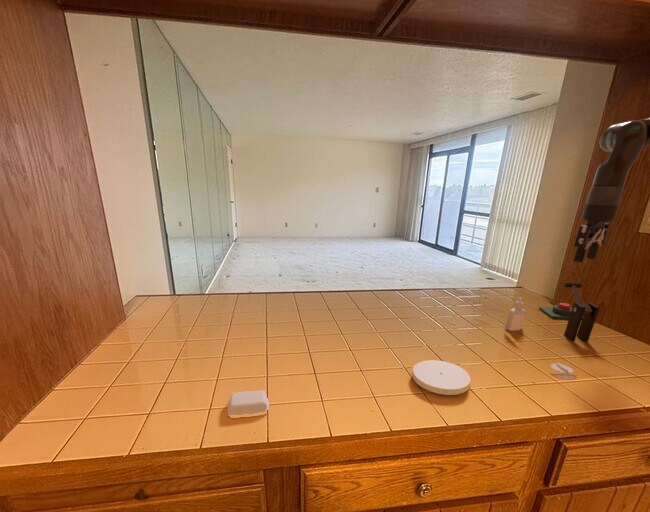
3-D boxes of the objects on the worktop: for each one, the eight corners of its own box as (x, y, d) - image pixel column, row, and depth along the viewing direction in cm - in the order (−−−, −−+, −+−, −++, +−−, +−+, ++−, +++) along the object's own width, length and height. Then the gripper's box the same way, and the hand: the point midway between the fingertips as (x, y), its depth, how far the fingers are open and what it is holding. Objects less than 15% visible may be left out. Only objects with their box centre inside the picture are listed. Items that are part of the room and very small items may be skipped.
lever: (561, 286, 116) (565, 280, 114) (577, 286, 116) (581, 281, 114) (576, 315, 108) (580, 310, 106) (593, 316, 107) (597, 311, 105)
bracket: (553, 334, 117) (564, 298, 112) (578, 336, 116) (590, 300, 111) (570, 348, 107) (582, 309, 103) (597, 349, 107) (611, 311, 102)
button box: (569, 313, 136) (572, 304, 134) (585, 323, 126) (588, 313, 125) (538, 312, 136) (540, 302, 135) (550, 321, 127) (553, 311, 126)
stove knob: (565, 366, 97) (567, 359, 96) (583, 380, 90) (585, 373, 90) (539, 365, 97) (541, 359, 96) (555, 379, 90) (557, 373, 89)
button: (565, 307, 132) (567, 302, 131) (571, 310, 128) (572, 306, 128) (555, 306, 132) (557, 302, 131) (561, 310, 128) (562, 305, 128)
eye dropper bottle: (523, 334, 116) (532, 301, 111) (505, 333, 117) (513, 299, 112) (519, 329, 120) (527, 296, 115) (501, 328, 121) (509, 295, 116)
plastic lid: (431, 362, 97) (432, 355, 96) (479, 384, 88) (481, 375, 87) (400, 380, 89) (401, 371, 88) (450, 405, 79) (452, 396, 78)
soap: (268, 396, 81) (267, 386, 80) (270, 415, 75) (269, 403, 74) (228, 400, 79) (227, 390, 78) (227, 419, 73) (225, 408, 72)
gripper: (607, 204, 90) (588, 265, 97) (628, 203, 98) (608, 260, 104) (575, 202, 96) (559, 260, 102) (597, 201, 104) (581, 255, 110)
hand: (584, 260), depth 103 cm, fingers open, 8 cm apart
